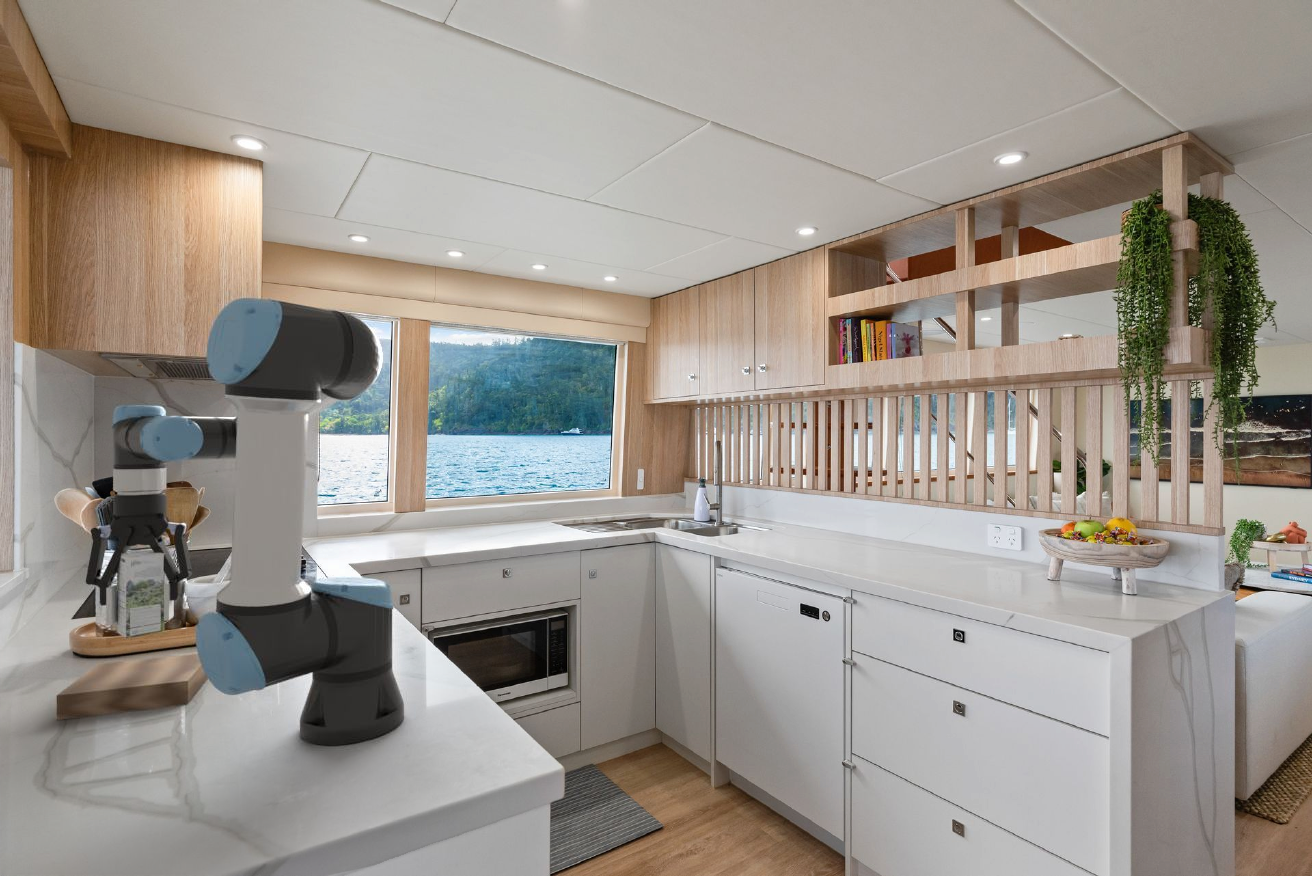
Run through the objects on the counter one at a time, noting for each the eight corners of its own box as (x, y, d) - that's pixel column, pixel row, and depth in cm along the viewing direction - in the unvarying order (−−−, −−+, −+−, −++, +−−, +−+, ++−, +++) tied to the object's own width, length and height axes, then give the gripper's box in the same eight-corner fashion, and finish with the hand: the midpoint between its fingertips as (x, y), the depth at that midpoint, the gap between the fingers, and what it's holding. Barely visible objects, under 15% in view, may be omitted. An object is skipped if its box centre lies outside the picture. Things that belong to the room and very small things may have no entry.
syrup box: (155, 626, 123) (155, 547, 123) (165, 632, 120) (165, 551, 120) (116, 633, 119) (116, 551, 119) (125, 639, 115) (125, 555, 115)
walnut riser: (212, 672, 130) (212, 652, 130) (188, 703, 115) (188, 680, 115) (98, 685, 124) (98, 663, 124) (56, 720, 109) (56, 695, 109)
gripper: (213, 489, 126) (213, 610, 126) (78, 492, 119) (78, 620, 119) (202, 492, 119) (202, 620, 119) (58, 496, 112) (58, 632, 112)
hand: (140, 620), depth 119 cm, fingers closed on syrup box, 8 cm apart
